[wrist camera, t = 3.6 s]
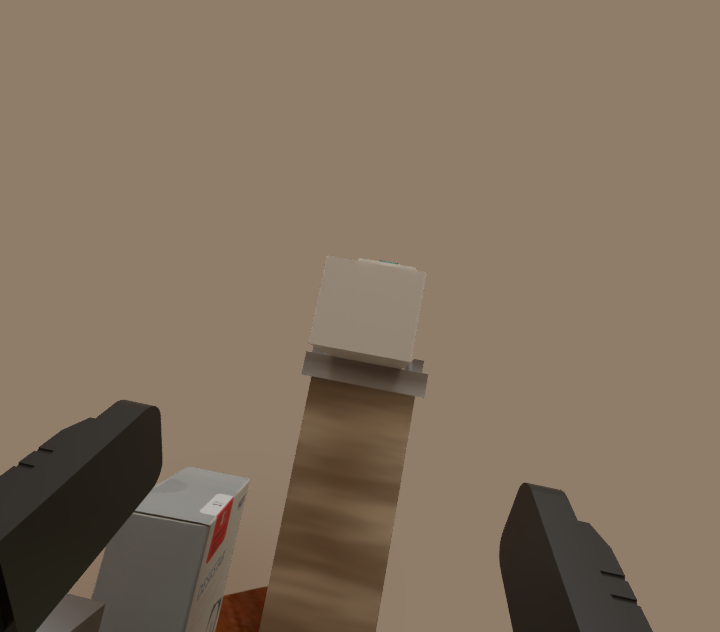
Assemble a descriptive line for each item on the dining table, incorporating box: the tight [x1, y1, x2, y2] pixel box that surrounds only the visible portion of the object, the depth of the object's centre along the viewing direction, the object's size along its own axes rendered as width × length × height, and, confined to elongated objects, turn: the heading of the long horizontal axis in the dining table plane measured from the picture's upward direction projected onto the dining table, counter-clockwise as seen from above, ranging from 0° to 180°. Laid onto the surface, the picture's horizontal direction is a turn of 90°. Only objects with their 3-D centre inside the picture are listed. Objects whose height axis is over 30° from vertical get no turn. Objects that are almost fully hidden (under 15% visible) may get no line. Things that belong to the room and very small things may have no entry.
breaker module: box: [309, 256, 426, 369], centre depth 29 cm, size 21×4×9 cm, turn 176°
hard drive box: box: [91, 467, 250, 632], centre depth 37 cm, size 16×8×20 cm, turn 2°
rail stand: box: [259, 346, 428, 632], centre depth 30 cm, size 13×9×35 cm
